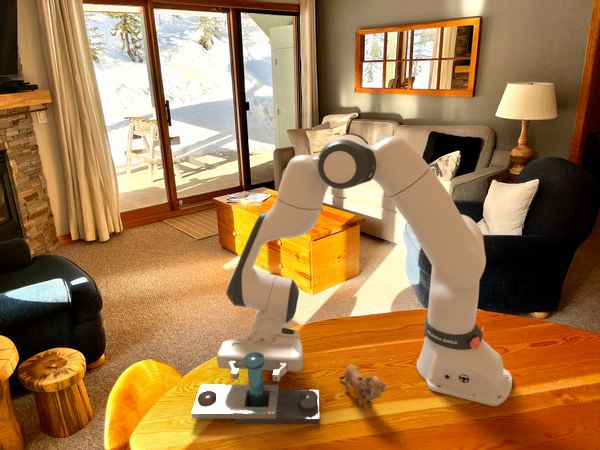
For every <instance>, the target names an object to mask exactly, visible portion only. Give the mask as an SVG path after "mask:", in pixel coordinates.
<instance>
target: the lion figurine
mask: <svg viewBox="0 0 600 450" xmlns="http://www.w3.org/2000/svg"><path fill="white" fill-rule="evenodd" d="M344 372H345V373H344V375H342V376H339V378H338V379H339V380H344V379H345V383H344V394H346V395H347V394H350V390H349V383H350V384H352V386H353V388H354V390H355V391H356V392H357V394H358V405H359V406H358V409H359V410H360V411H364V410H365V405H364V400H365V403H367V405H369V406H370V405H372V404H373V401H372V400H375V399H376V400H377V399H380V397H381V396H382V393H383V392H385V390H386V389H387V383H384V382H382V381H381V380H380V377H378V376H377V375H375V376H370V377H369V376H367V377H365V376H363V375H362V374H361V373H360V371H359V369H358V367H357V365H356V364H355V365H354V364H352V363H351V364H348V365H347V367H346V368H345V371H344Z"/></svg>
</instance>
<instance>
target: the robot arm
mask: <svg viewBox="0 0 600 450" xmlns="http://www.w3.org/2000/svg"><path fill="white" fill-rule="evenodd" d="M372 180H373V181H375V182H376V183H377V184H378V185H379V186H380V187H381V189H382V190H383V191H384V193H385V194H386V196H387V197H388V198H389V199H390V201H391V202H392V204H393V205H394V206H395V208H396V209H397V211H399V214H401V216H402V217H403V218H404V220H405V221H406V222H407V225H408V226H409V227H410V229H411V230H412V232H413V234H414V236H415V238H416V240H417V242H418V244H419V245H420V247H421V249H422V250H423V253H424V254H425V256H426V258H427V259H428V261H429V263H430V265H431V274H430V284H429V286H430V287H429V295H428V308H427V316H426V317H425V321H424V324H423V325H424V327H423V337H424V340H423V344H422V348H421V352H420V355H419V357H418V359H417V361H416V368H417V371H418V373H419V375H420V376H421V377H422V378H423V379H424V380H425V382H426V383H427V387H428V389H430V391H433V392H436V393H440V394H444V395H448V396H452V397H456V398H460V399H463V400H467V401H472V402H476V403H479V404H482V405H487V406H490V407H497V406H499V405H501V404H503V403H504V402H505V401H506V400H507V399H508V397H510V394H511V391H512V387H513V377H512V374H511V372H510V371H509V370H507V369H505V368H504V363H503V359H502V356H501V354H499V353H498V352H497V351H496V350H494V348H493V347H492V346H490V345H489V344H488V343H487V342H486V341H485V340H484V339H483V337H484V334H483V333H484V330H485V326H482V328H479V326H478V325H477V323H476V320H477V312H478V311H477V310H478V303H479V293H480V280H481V278H482V276H483V274H484V271H485V267H486V264H487V263H486V262H487V258H486V251H485V243H484V241H485V240H484V236H483V232H482V230H481V227H480V226H479V225H478V224H477V222H476V221H474V219H472V218H471V217H470V216H468V215H465V214H461V213H460V211H459V209H458V208H457V206H456V204H455V202H454V200H453V198H452V196H451V194H450V193H449V191H448V190H447V189H446V188H445V185H443V183H442V182H441V180H440V179H439V178H438V177H437V175H436V174H435V172H434V171H433V170H432V168H431V167H430V165H428V163H427V162H426V160H425V159H424V158H423V157H422V156H421V155H420V154H419V152H418V151H417V150H416V149H415V148H414V147H413V146H412V145H411V144H410V143H409V142H408V141H407V140H406V139H404V138H403V137H402V136H399V135H398V136H397V135H392V136H387V137H385V138H383V139H381V140H379V141H378V142H376V143H373V144H370V143H369V142H368V141H367V140H366V139H365V138H364V137H363V136H361V135H359V134H357V133H345V134H341V135H338V136H335V137H334V138H332V139H331V140H329V141H328V142H327V143H326V144H325V146H324V147H323V148H322V149H321V151H320V152H319V154H318V155H317V156H316V155H315V156H314V155H309V154H299V155H296V156H294V157H292V158H290V160H289V161H288V163H287V166H286V167H285V170H284V171H283V175H282V177H281V180H280V184H279V186H278V187H279V188H278V191H277V196H276V199H275V201H274V202H273V205H272V206H271V208H269V209H268V210H267V211H264V212H261V213H260V214H259V216H258V217H257V219H256V220H255V223H254V225H253V227H252V228H251V232H249V233H250V234H249V236H248V238H247V240H246V243H245V246H244V248H243V250H242V253H241V256H240V258H239V260H238V263H237V265H236V267H235V269H234V270H233V272H232V273H231V275H230V277H229V278H228V282H227V285H226V291H225V292H226V294H225V295H226V296H227V298H228V299H229V301H230V302H231V304H232V305H233V306H236V307H240V308H241V307H242V308H250V309H253V310H256V312H255V315H254V317H253V319H252V324H251V326H250V329H249V332H248V335H247V337H246V338H229V339H226V340H224V341H223V342H222V344H221V346H220V348H219V349H218V351H217V353H216V364H217V366H218V367H219V368H220V369H224V370H225V369H227V370H229V371H230V379H231V380H237V381H238V380H239V377H240V371H239V370H248V368H246V367H245V365H244V357H245V356H246V355H247V354H249V353H252V352H258V353H261V354H262V355H263V356H264V365H263V366H262V371H273V373H272V381H273V382H280V381H281V378H282V377H283V376H284V375H285V374H286V373H287V372H300V371H301V370H302V369H303V366H304V363H303V362H304V359H303V344H302V342H301V338H300V337H301V336H300V333H299V331H298V330H295V329H293V328H288V327H287V324H288V323H289V322H290V321H292V320H293V318H295V314H296V311H297V305H298V300H299V294H300V290H299V287H298V286H297V284H296V282H295V280H294V279H291V278H290V277H284V276H280V275H277V274H276V275H275V274H272V273H267V272H263V271H259V270H257V269H256V268H254V266H255V263H256V261H257V259H258V256H259V255H260V252H261V249H262V248H263V246H264V245H265V244H266V243H268V242H272V241H276V240H281V239H282V240H283V239H291V238H292V239H294V238H298V237H300V236H303V235H306V234H307V233H309V232H311V230H313V229H314V228H315V227H316V224H317V222H318V220H319V217H320V214H321V211H322V207H323V204H324V203H323V202H324V199H325V195H326V193H327V191H328V189H329V187H331V188H333V189H338V190H346V189H350V188H354V187H356V186H359V185H362V184H365V183H369V182H371V181H372Z"/></svg>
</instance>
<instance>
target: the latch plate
mask: <svg viewBox="0 0 600 450" xmlns="http://www.w3.org/2000/svg"><path fill="white" fill-rule="evenodd" d="M263 385H264V398H265V401H268V406H265V407H251V406H248V403H249V401H251V400H250V389H249V384H201V385H200V387H199V390H198V393H197V396H196V399H195V402H194V405H193V408H192V410H191V417H192V419H195V420H196V419H198V420H199V419H201V420H202V419H205V420H206V419H208V420H209V419H211V420H212V419H223V420H224V419H228V420H230V419H233V420H235V424H236V425H242V424H243V425H248V424H249V425H259V424H260V425H265V424H266V425H270V424H271V425H319V424H320V392H319V391H320V390H319V389H279V384H263Z"/></svg>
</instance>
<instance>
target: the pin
mask: <svg viewBox="0 0 600 450" xmlns="http://www.w3.org/2000/svg"><path fill="white" fill-rule="evenodd" d="M244 365H245V367H246V368H248V369H247V378H248V385H249V389H250V400H249V401H250V407H266V400H265V398H264V385H265V384H264V375H263V370H262V366H263V365H264V356H263V355H262V354H261V353H258V352H252V353H249V354H247V355H246V356H245V357H244Z"/></svg>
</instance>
